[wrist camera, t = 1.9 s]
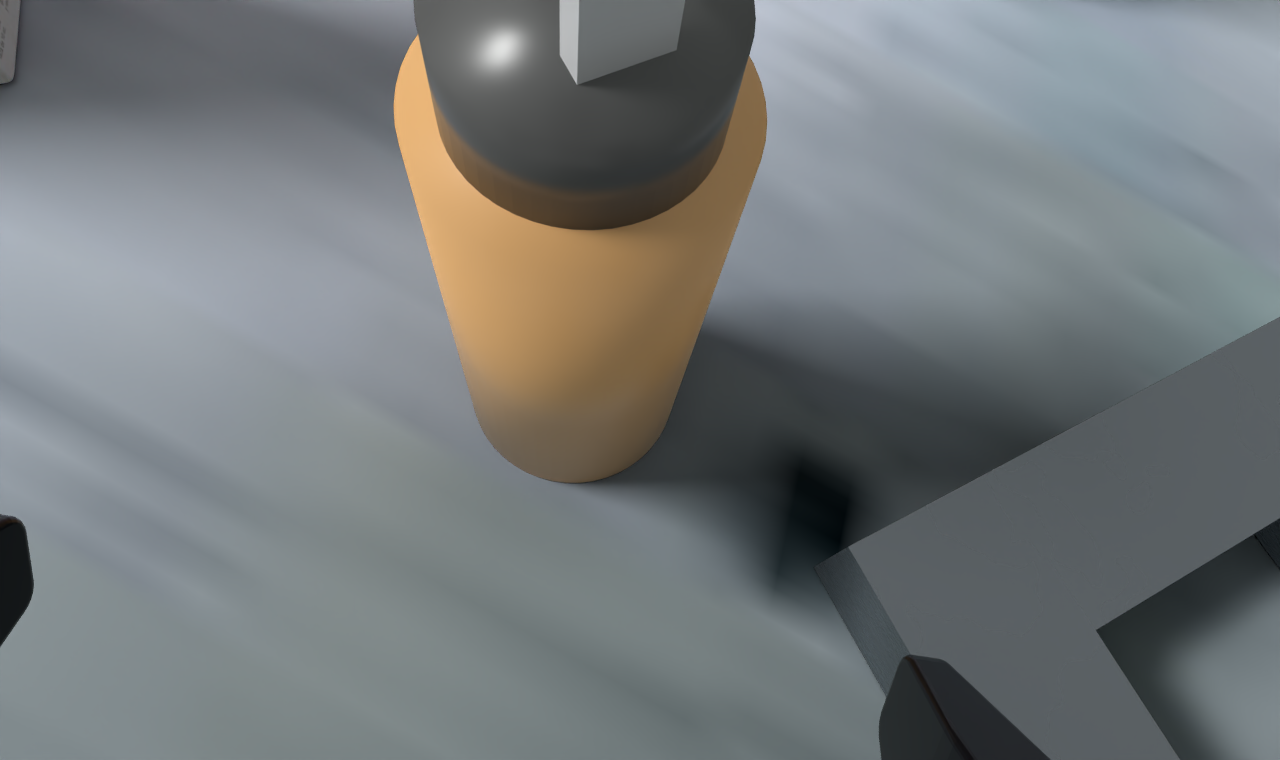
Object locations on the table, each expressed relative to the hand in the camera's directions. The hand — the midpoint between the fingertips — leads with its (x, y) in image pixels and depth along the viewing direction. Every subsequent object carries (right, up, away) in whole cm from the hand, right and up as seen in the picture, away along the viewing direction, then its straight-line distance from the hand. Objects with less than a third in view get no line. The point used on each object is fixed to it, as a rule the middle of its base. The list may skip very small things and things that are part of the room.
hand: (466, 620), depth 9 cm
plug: (0, +2, +15) cm, 16 cm away
